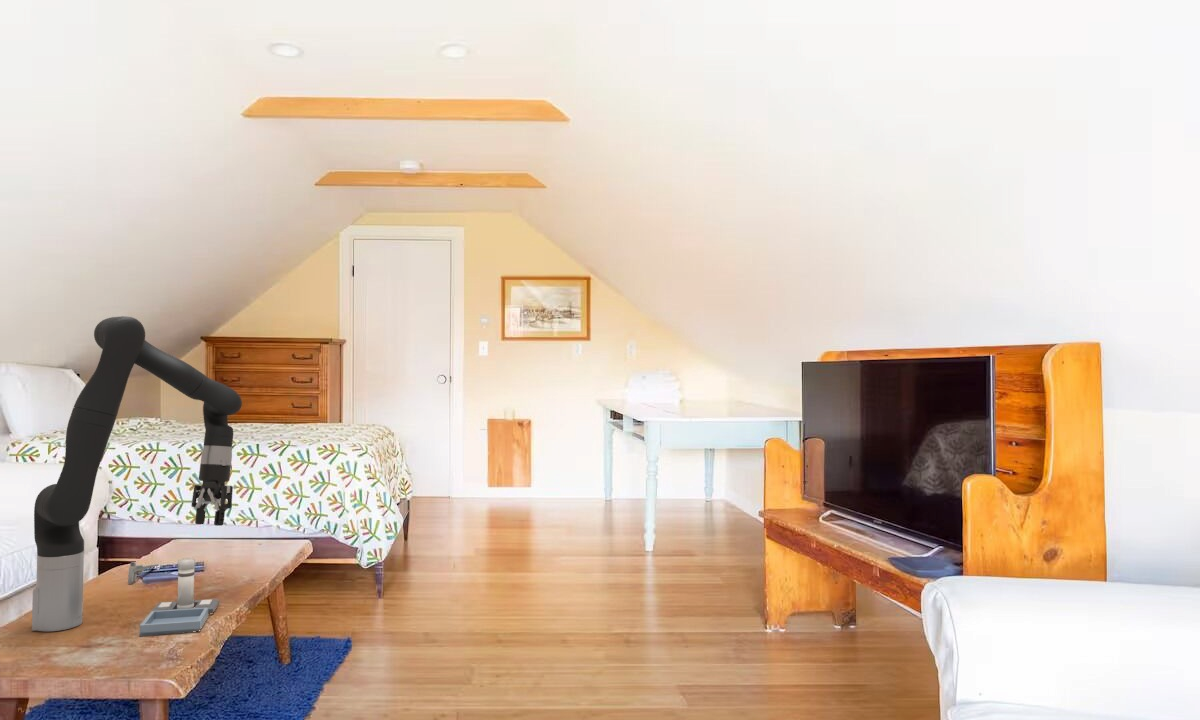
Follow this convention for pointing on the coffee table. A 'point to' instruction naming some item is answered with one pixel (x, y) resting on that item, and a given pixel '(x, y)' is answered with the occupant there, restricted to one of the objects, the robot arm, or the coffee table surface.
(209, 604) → the block
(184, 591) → the fuse
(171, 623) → the parts tray
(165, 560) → the coffee table surface
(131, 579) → the caliper
